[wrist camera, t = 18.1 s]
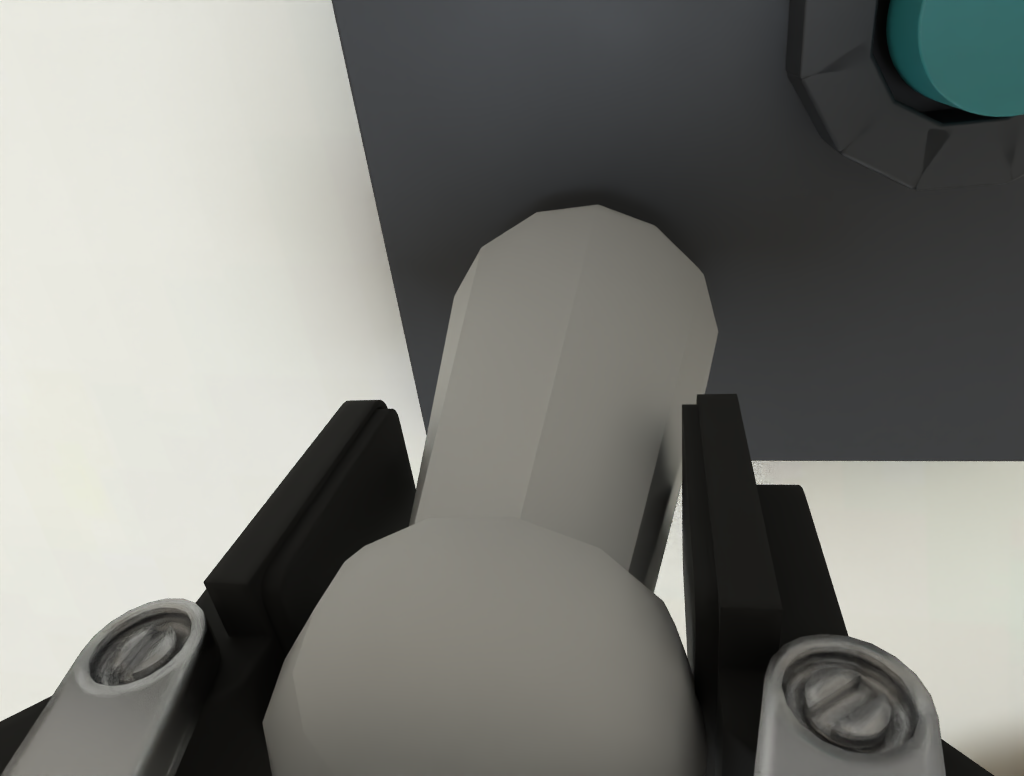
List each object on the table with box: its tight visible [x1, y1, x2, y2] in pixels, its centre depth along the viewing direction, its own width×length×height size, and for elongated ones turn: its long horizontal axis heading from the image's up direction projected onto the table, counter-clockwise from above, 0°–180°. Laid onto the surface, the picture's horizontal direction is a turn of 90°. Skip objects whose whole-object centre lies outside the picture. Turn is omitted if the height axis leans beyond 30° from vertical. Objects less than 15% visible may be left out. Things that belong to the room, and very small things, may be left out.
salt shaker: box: [262, 205, 718, 776], centre depth 11 cm, size 6×6×13 cm
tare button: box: [886, 0, 1024, 117], centre depth 11 cm, size 3×3×2 cm
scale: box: [332, 0, 1024, 461], centre depth 15 cm, size 16×14×4 cm
